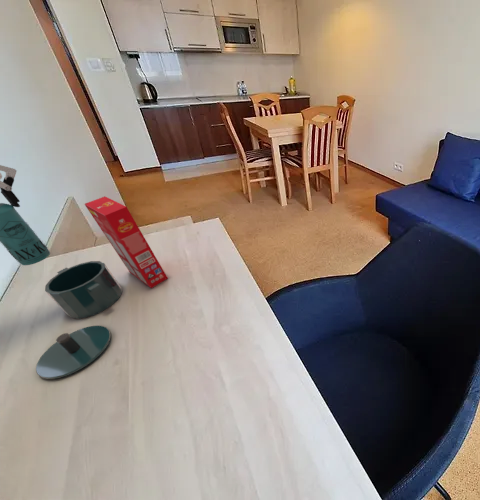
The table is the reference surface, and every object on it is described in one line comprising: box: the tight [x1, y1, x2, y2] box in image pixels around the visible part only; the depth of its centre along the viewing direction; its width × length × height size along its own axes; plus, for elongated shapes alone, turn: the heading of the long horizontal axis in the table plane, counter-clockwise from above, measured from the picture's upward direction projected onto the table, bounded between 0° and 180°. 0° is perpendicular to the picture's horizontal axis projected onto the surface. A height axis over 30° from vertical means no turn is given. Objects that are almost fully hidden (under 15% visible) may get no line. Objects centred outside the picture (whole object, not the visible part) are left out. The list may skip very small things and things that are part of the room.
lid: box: [35, 325, 112, 380], centre depth 71 cm, size 15×15×6 cm
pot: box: [44, 260, 123, 320], centre depth 86 cm, size 14×19×10 cm
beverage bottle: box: [0, 202, 51, 266], centre depth 74 cm, size 6×7×20 cm
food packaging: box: [84, 195, 169, 289], centre depth 89 cm, size 15×5×25 cm, turn 54°
